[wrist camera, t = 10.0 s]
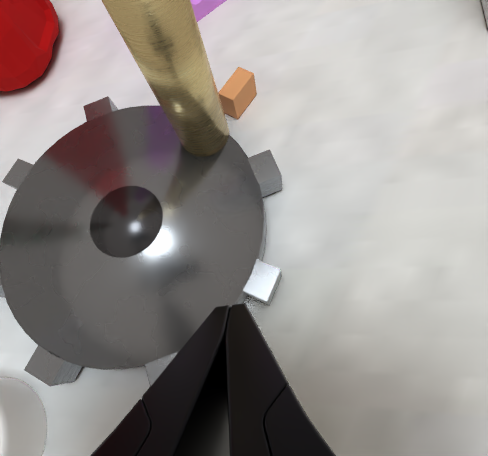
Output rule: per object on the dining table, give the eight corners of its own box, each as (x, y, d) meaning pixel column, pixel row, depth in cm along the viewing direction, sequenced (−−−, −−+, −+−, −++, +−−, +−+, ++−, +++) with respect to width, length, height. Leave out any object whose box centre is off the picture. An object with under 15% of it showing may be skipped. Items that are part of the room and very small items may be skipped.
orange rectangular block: (237, 119, 23) (233, 100, 22) (223, 112, 24) (218, 93, 22) (256, 94, 24) (253, 73, 22) (242, 87, 24) (238, 66, 22)
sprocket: (341, 319, 18) (423, 286, 7) (23, 443, 18) (-407, 609, 7) (228, 72, 24) (175, -157, 13) (-7, 166, 25) (-259, 19, 13)
